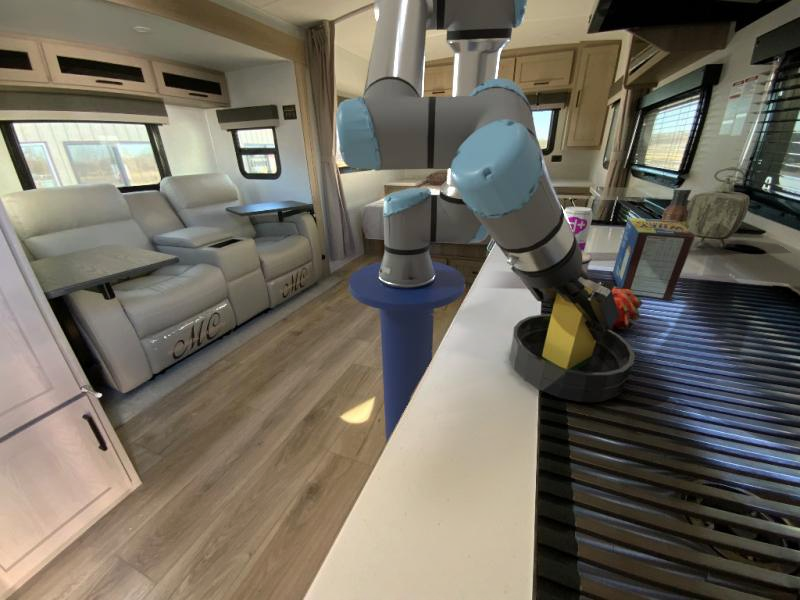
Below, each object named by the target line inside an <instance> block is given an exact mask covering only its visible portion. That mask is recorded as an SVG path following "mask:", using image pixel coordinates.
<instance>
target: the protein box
mask: <svg viewBox="0 0 800 600" xmlns="http://www.w3.org/2000/svg"><path fill="white" fill-rule="evenodd" d="M695 238H696V237H695V235H694V234H693V233H691V232H690V231H689V230H687V229H686V228H685V227H684V226H682V225H681V224H679V223H678V222H677V221H675V220H661V219H659V218H658V219H656V218H641V217H640V218H639V217H628V218H627V221H626V224H625V228H624V230H623V234H622V238H621V242H620V244H619V249H618V251H617V255H616V259H615V263H614V266H613V270H612V275H613V278H614V281H615V283H616V287H620V289H629V290H632V291H633V292H634V295H636V296H637V297H644V298H650V299H651V298H652V299H658V300H666V301H672V298H673V295H674V293H675V290H676V287H677V285H678V282H679V280H680V277H681V275H682V272H683V269H684V267H685V265H686V261H687V259H688V256H689V254H690V251H691V248H692V246H693V243H694V241H695Z"/></svg>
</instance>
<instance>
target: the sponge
mask: <svg viewBox="0 0 800 600" xmlns="http://www.w3.org/2000/svg"><path fill="white" fill-rule="evenodd" d="M551 314H552V315H551V319H550V324H549V328H548V332H547V337H546V341H545V345H544V350H543V354H542V359H543V360H545V361H546V362H548V363H551V364H554V365H557V366H560V367H563V368H566V369H571V370H577V369H579V368H581V367H583V366H584V365H586V364H588V363H589V362H590V359H591V356H592V353H593V350H594V347H595V344H596V340H594V338H593V336H592V335H591V333H590V331H589V329H588V328H587V326H586V324H585V322H586V321H587V319H586V318H585V317H584V316H583V315H582V314H581V313H580V311H579V310H578V309H577V308H576V307H575V306H574V305H573V304H572V303H570V302H567V301H565V300H564V299H563V298H562V297H561V295H560V294H559V293H556V298H555V302H554V306H553V308H552V311H551Z"/></svg>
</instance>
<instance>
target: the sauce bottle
mask: <svg viewBox="0 0 800 600" xmlns="http://www.w3.org/2000/svg"><path fill="white" fill-rule="evenodd" d="M691 192H692V189H691V188H684V187H678V188H677V187H675V188H674V190H673V192H672V193H673V195H672V199H671V201H670V204H669V205H668V206H666V207H665V209H664V211H663V213H662V217H661V219H660V220H675V221H677V222H678V223H679V224H681V225H682V226H684V227H685V223H686V220H687V215H688V210H687V204H688V199H689V197H690V195H691V194H692V193H691Z"/></svg>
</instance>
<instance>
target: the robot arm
mask: <svg viewBox="0 0 800 600" xmlns="http://www.w3.org/2000/svg"><path fill="white" fill-rule="evenodd" d="M373 2H374V3H373V9H374V10H373V11H374V16H375V20H376V25H375V31H374V37H373V40H372V41H373V42H372V45H371V46H372V47H371V52H370V58H369V62H368V69H367V73H366V79H365V85H364V90H363V95H362V96H357V97H355V98H347V99H345V100H343V101H341V102H340V103H339V105H338V107H337V113H336V118H335V119H336V122H335V123H336V124H335V125H336V126H335V127H336V138H337V145H338V149H339V154H340V157H341V159H342V161H343V162H344V164H345V165H346V167H349V168H350V169H355V170H356V169H357V170H358V169H359V170H372V171H373V170H374V171H376V172H377V171H395V170H398V171H399V170H401V171H402V170H446V181H444V183H442V184H441V185H440V187H439V194H432V192H431V191H432V190H431V189H430V188H428V187H414V188H408V189H401V190H397V191H393V192H391V193H388V194H387V195H385V197H384V199H383V209H382V210H383V211H382V217H383V237H384V239H383V240H384V242H383V243H384V244H383V245H384V253H383V256H382V260H381V262H382V263H381V267H380V270H379V281H380V282H381V283H382V284H383V285H385V286H387V287H390V288H394V289H403V290H411V289H419V288H423V287H426V286H429V285H430V284H432V283H433V282H434V280H435V271H434V268H433V265H432V258H431V255H430V243H442V244H450V243H451V244H467V245H469V244H471V243H473V244H474V243H475V244H476V243H482V242H483V241H485V240H486V239H487V238H488V236H489V235H490V237H491V238H492V239H493V241H494V242H495V244H496V246H497V247H498V248H499V249H500V250H501V252H502V253H503V255H504V256H505V257H506V259H507V260H506V262H507V264H508V265H509V266H511V268H510V270H511V271H512V272H513V273H514V274H516V276H518V277H519V279H520V280H521V282H523V284H524V285H525V287H526V288H527V289H528V291H529V292H530V294H531V295H532V296H533V297H534V299H535V300H536V301H537V302H540V303H543V301H545V305H546V306H547V307H548V308H552V309H553V306H554V302H555V298H556V293H559V294H560V295H561V297H562V298H563V299H564V300H565V301H567V302H570V303H572V304H573V305H574V306H575V307H576V308H577V309H578V310H579V311H580V313H581V314H582V315H583V316H584V317H585V318H586V319H587V321H586V322H585V324H586V326H587V328H588V329H589V331H590V333H591V335H592V336H593V338H594V340H596V341H598V342H599V341H600V340H601V339H602V337H603V336H604V334H605V333H606V331H607V330H610V329H611V327H612V326H613V324H614V323H615V321H616V320H617V319H618V317H619V316H620V314H619V311H618V309H617V306H616V303H615V300H614V297H613V294H612V290H613V288H614V287H615V284H614V283H612V282H611V281H608V280H607V281H606V280H605V281H603V282H602V283H601V282H598V283H596V282H594V281H592V280H590V275H589V274H588V272H587V273H586V272H585V271H584V270H583V269H582V251H581V249H580V246H579V244H578V242H577V240H576V237H575V235H574V233H573V230H572V227H571V225H570V223H569V221H568V218H567V216H566V214H565V212H564V210H565V209H564V208H563V206H562V204H561V202H560V200H559V198H558V195H557V193H556V190H555V188H554V184H553V182H552V180H551V178H550V174H549V172H548V169H547V166H546V162H545V161H546V160H545V159H544V154H543V151H542V147H541V145H540V141H539V139H538V136H537V131H536V127H535V126H536V125H535V121H534V116H533V109H532V105H530V103H529V100H528V98H527V96H526V94H525V93H524V92H523V90H522V88H521V87H520V86H519V84H517V83H516V82H515V81H513V80H510V79H507V78H501V77H499V78H498V75H499V67H500V60H501V59H500V58H501V52H502V51H503V49H505V47H506V46H507V45H508V44H509V42H511V40H512V33H513V28H514V29H516V28H518V27H520V26H521V25H522V23H523V21H524V19H525V14H526V13H525V12H526V7H527V2H528V0H374V1H373ZM434 30H436V31H443V30H444V31H446V41H445V43H446V44H447V46H448V47H449V49H451V51H452V53H453V64H452V80H451V81H452V82H451V96H424V80H425V79H424V78H425V61H426V57H425V56H426V39H427V34H426V33H427V31H434ZM613 327H614V326H613Z"/></svg>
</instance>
